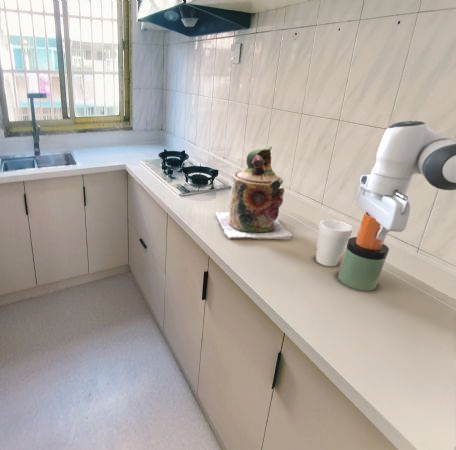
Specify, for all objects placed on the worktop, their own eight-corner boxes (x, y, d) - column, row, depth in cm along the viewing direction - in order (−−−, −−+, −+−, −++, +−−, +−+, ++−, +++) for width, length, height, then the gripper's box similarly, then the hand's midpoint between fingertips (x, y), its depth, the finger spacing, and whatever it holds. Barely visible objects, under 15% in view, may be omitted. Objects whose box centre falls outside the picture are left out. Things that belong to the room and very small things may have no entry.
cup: (374, 240, 98) (384, 211, 95) (385, 250, 92) (396, 220, 89) (351, 238, 99) (360, 210, 95) (361, 249, 93) (370, 218, 89)
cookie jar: (213, 215, 145) (222, 139, 132) (269, 215, 147) (283, 141, 134) (228, 240, 123) (240, 152, 110) (293, 241, 124) (313, 154, 111)
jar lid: (376, 244, 101) (378, 238, 100) (394, 260, 91) (396, 254, 91) (341, 241, 102) (342, 235, 101) (355, 257, 92) (357, 251, 92)
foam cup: (313, 251, 117) (321, 217, 112) (342, 259, 113) (353, 223, 107) (309, 263, 109) (318, 226, 104) (340, 271, 105) (351, 234, 100)
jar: (366, 273, 105) (377, 240, 100) (382, 292, 96) (395, 256, 91) (332, 270, 106) (342, 237, 101) (345, 289, 96) (356, 253, 92)
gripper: (424, 198, 79) (404, 251, 84) (381, 175, 98) (367, 219, 103) (396, 197, 79) (378, 249, 85) (358, 174, 98) (345, 218, 104)
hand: (371, 232), depth 94 cm, fingers closed on cup, 6 cm apart
